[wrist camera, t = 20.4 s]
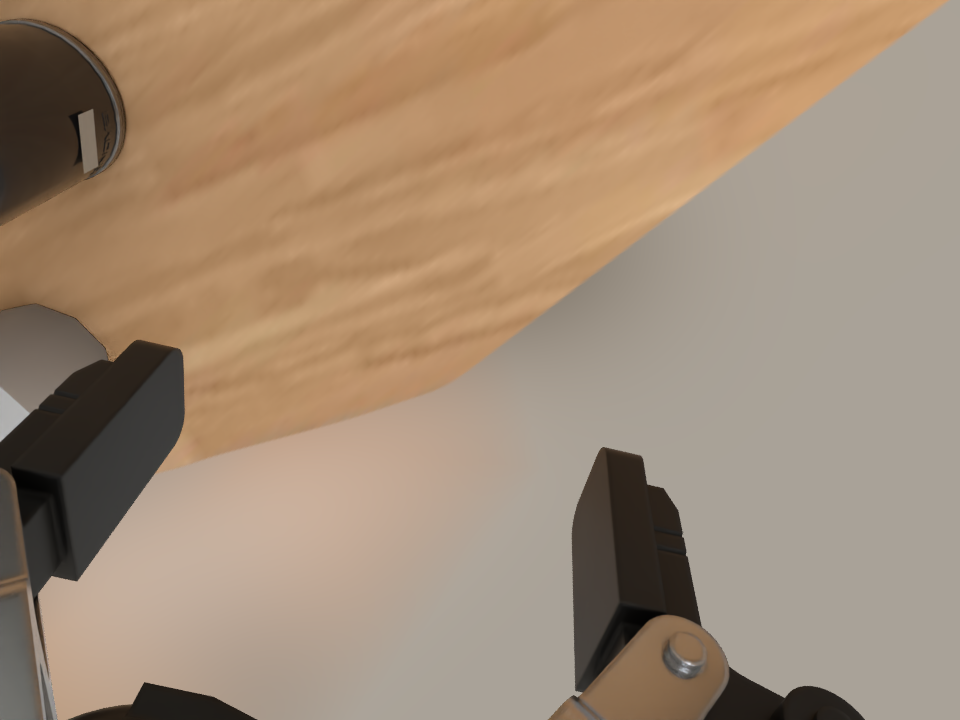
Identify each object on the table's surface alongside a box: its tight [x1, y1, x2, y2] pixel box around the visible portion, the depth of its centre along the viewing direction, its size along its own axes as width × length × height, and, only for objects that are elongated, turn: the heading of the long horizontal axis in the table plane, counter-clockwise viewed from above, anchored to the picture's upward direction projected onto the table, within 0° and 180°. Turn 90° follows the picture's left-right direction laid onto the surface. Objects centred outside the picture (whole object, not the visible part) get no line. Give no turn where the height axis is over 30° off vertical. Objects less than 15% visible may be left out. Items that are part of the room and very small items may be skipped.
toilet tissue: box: [0, 304, 108, 442], centre depth 51 cm, size 9×13×9 cm
